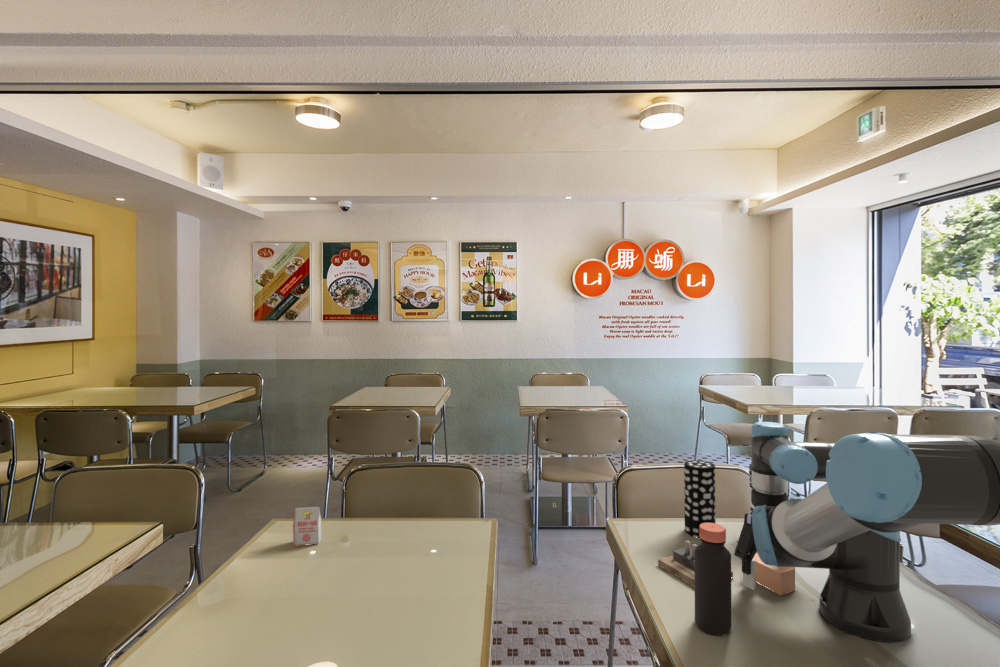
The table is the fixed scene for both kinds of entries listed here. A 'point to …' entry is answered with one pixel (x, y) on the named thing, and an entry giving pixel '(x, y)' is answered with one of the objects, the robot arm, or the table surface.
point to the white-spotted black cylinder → (698, 495)
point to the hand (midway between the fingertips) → (769, 580)
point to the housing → (775, 576)
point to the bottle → (712, 580)
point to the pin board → (682, 563)
